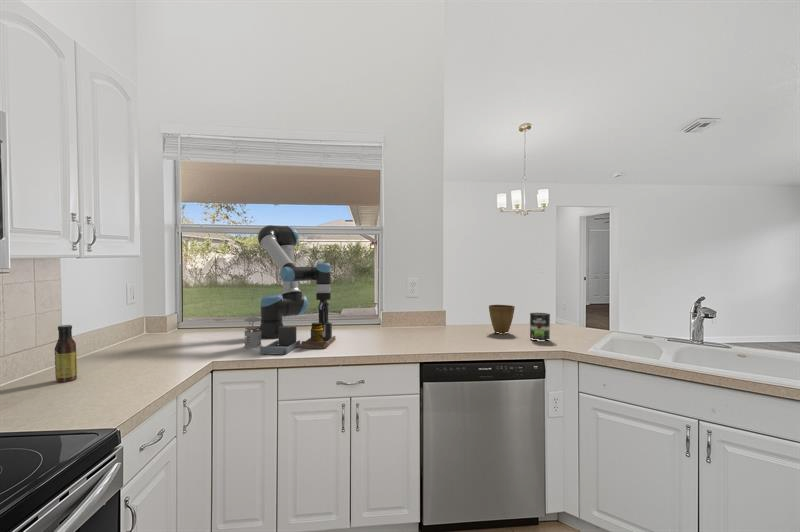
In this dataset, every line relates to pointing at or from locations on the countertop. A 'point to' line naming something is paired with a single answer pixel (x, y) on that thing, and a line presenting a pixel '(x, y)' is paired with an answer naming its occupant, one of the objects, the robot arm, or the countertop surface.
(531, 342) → the countertop surface
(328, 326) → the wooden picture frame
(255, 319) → the french press
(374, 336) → the countertop surface
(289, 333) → the grey frame
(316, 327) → the condiment
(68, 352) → the sauce bottle
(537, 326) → the coffee can
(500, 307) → the plant pot
